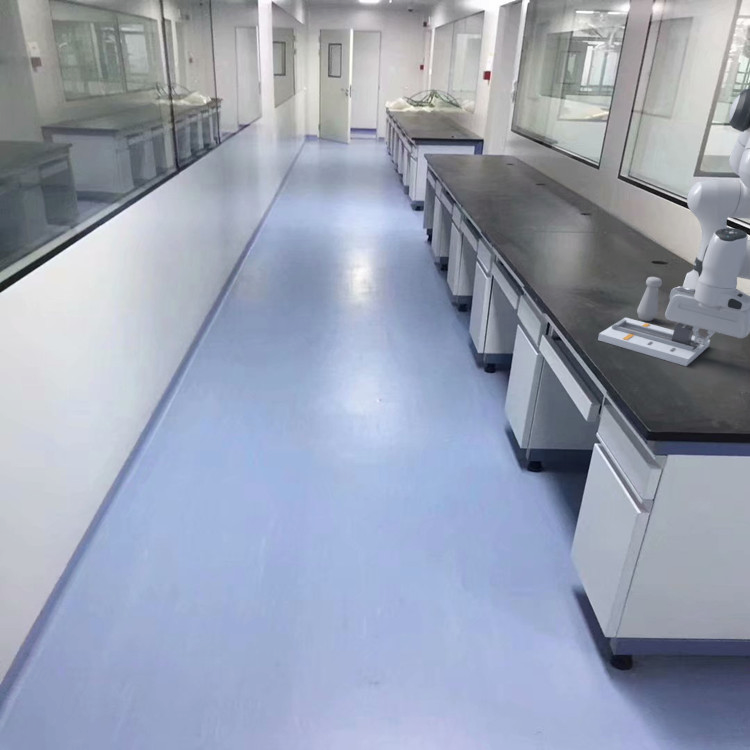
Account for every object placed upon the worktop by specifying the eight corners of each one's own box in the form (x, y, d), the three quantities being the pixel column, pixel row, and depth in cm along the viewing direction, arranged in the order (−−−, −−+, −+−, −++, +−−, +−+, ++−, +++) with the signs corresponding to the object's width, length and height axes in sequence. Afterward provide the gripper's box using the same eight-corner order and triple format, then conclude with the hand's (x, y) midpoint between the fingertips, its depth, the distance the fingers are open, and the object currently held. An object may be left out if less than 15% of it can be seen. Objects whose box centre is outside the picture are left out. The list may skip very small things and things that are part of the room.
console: (624, 323, 187) (626, 312, 185) (708, 346, 172) (711, 335, 171) (597, 340, 175) (600, 328, 173) (686, 366, 160) (689, 353, 159)
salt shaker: (650, 315, 194) (660, 275, 188) (659, 322, 188) (669, 281, 183) (632, 315, 193) (641, 274, 188) (640, 322, 188) (649, 280, 182)
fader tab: (674, 340, 170) (679, 321, 168) (689, 344, 168) (694, 325, 166) (670, 343, 169) (675, 324, 166) (686, 347, 166) (691, 328, 164)
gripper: (668, 287, 163) (656, 335, 169) (754, 306, 151) (738, 358, 157) (676, 282, 167) (664, 329, 173) (760, 300, 155) (744, 351, 161)
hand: (700, 343), depth 165 cm, fingers closed
